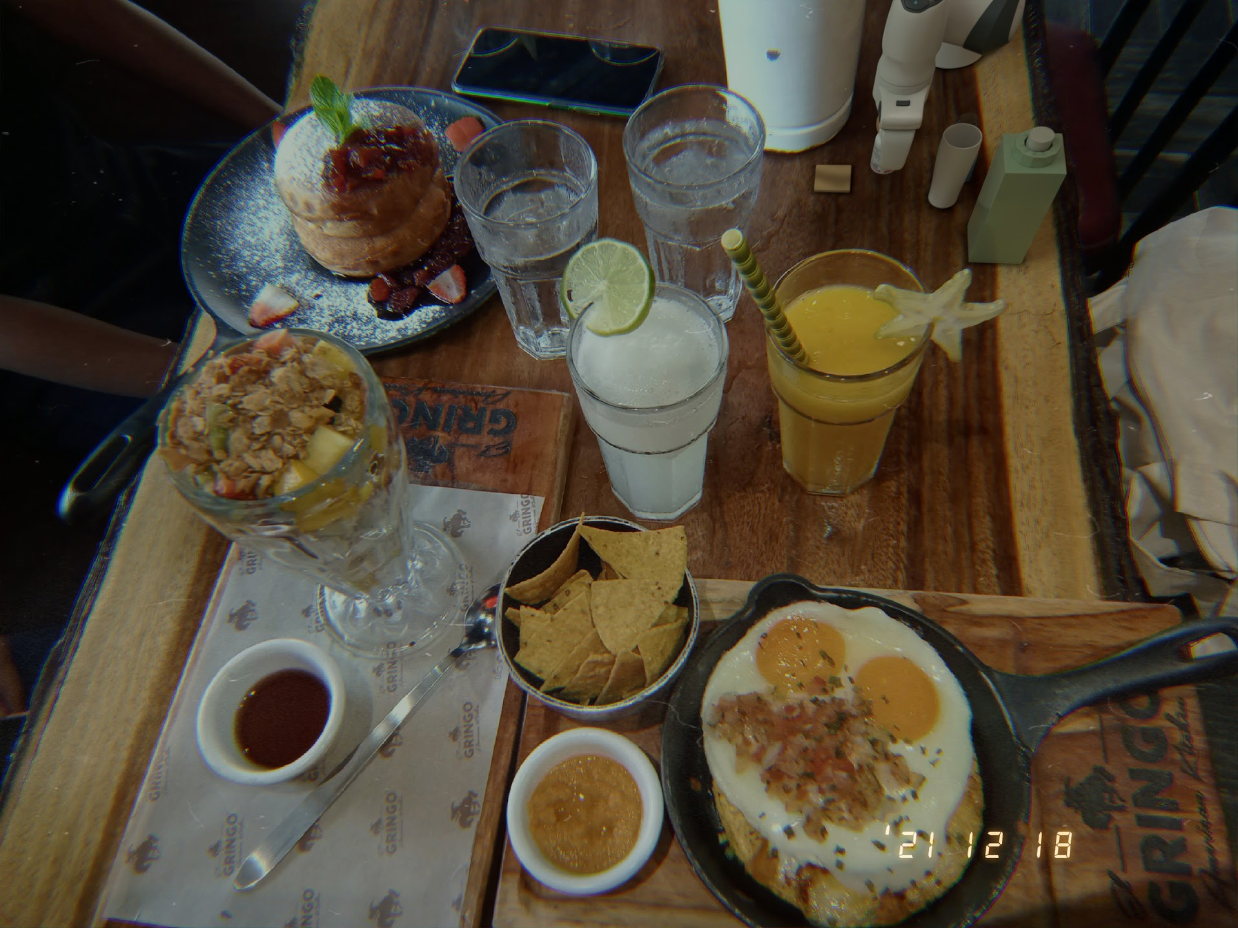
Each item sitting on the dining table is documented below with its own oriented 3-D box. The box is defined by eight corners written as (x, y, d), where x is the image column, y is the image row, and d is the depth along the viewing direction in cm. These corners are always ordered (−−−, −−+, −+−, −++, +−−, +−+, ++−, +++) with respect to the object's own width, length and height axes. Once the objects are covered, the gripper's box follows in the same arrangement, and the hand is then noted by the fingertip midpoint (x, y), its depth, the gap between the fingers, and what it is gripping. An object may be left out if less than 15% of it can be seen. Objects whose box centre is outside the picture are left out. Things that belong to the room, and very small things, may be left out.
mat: (815, 167, 152) (816, 164, 151) (850, 167, 150) (851, 165, 150) (813, 192, 149) (814, 189, 148) (849, 192, 147) (849, 190, 147)
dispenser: (967, 225, 139) (1006, 123, 119) (1018, 226, 138) (1067, 123, 117) (968, 262, 136) (1009, 163, 115) (1021, 264, 134) (1072, 163, 113)
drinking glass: (916, 194, 144) (934, 131, 131) (947, 182, 145) (969, 117, 131) (935, 217, 141) (956, 154, 128) (967, 204, 142) (991, 140, 128)
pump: (1024, 137, 118) (1029, 126, 116) (1049, 137, 117) (1053, 126, 115) (1025, 153, 116) (1030, 142, 114) (1050, 153, 116) (1055, 142, 114)
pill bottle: (898, 157, 135) (908, 118, 127) (895, 176, 133) (904, 138, 126) (871, 155, 136) (879, 117, 129) (868, 174, 134) (876, 136, 127)
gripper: (883, 42, 124) (870, 111, 137) (880, 128, 116) (866, 193, 129) (923, 41, 123) (906, 111, 135) (922, 128, 115) (904, 194, 127)
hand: (886, 152), depth 132 cm, fingers closed on pill bottle, 5 cm apart
